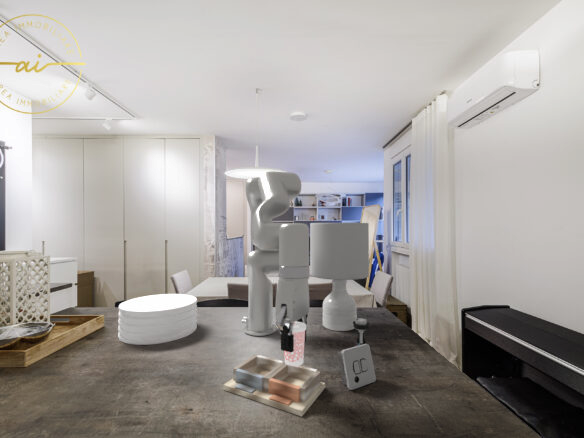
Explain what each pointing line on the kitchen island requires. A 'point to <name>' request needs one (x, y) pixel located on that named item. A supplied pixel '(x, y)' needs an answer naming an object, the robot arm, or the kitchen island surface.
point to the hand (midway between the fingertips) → (294, 345)
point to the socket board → (276, 384)
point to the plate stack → (157, 318)
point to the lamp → (339, 267)
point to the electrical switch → (356, 366)
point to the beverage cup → (296, 345)
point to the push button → (361, 329)
